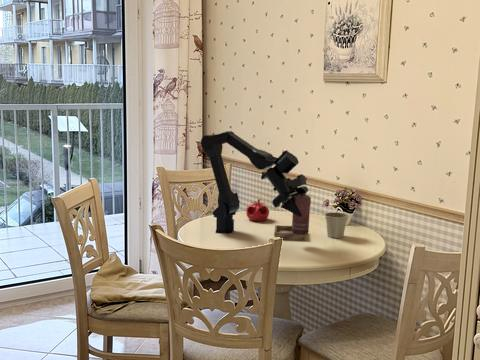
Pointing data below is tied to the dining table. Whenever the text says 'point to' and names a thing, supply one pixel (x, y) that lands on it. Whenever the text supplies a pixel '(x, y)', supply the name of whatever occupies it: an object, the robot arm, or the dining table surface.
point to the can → (302, 223)
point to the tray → (287, 233)
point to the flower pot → (335, 224)
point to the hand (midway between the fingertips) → (304, 214)
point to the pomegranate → (257, 211)
